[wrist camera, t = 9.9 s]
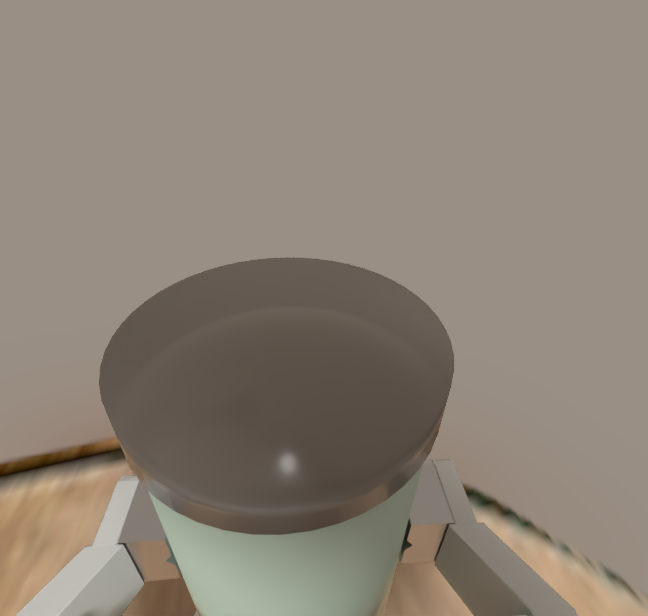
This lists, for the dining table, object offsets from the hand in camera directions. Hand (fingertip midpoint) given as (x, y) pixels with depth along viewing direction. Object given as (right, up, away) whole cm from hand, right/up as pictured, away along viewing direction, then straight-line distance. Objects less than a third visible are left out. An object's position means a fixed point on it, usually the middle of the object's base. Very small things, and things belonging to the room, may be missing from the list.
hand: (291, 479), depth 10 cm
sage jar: (0, -6, +3) cm, 7 cm away
